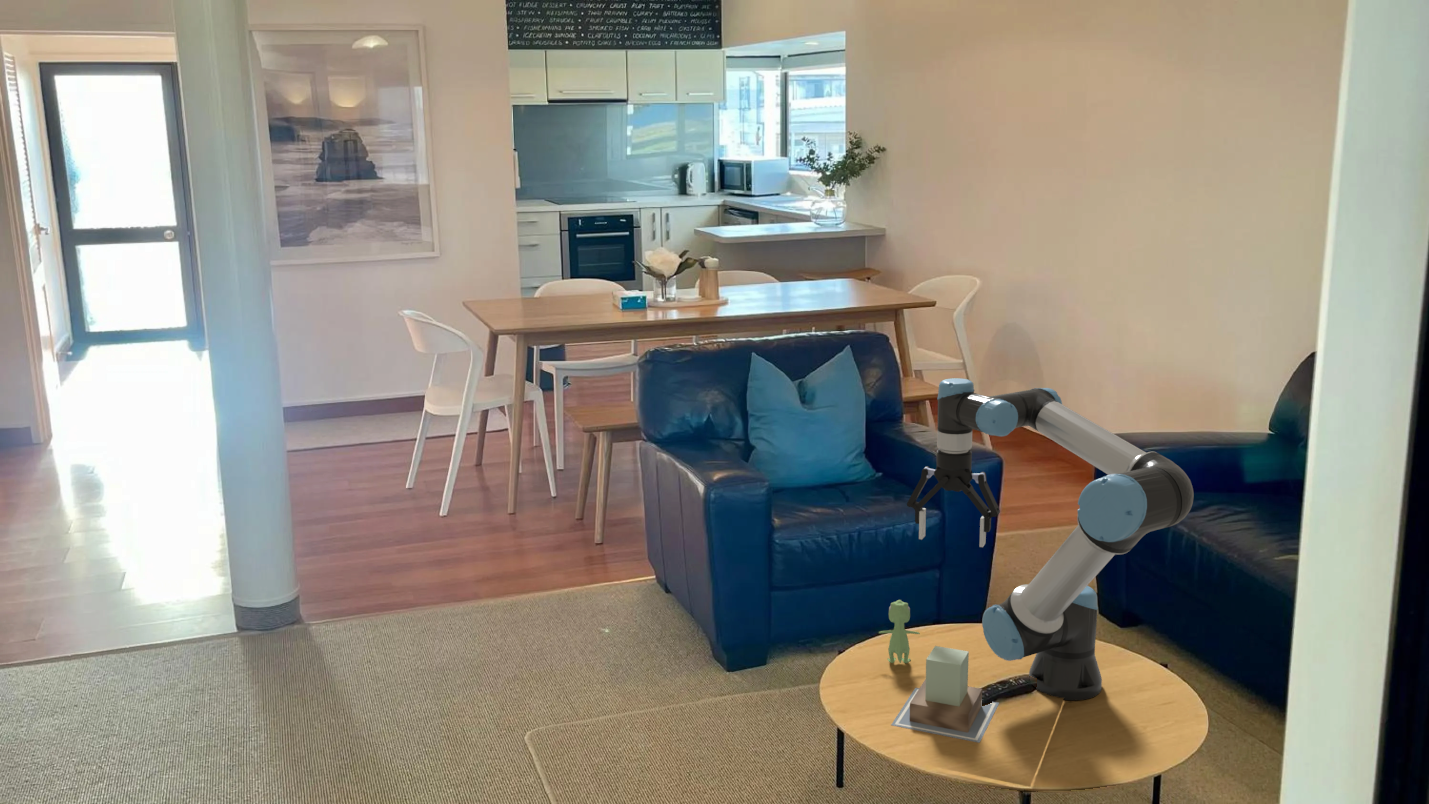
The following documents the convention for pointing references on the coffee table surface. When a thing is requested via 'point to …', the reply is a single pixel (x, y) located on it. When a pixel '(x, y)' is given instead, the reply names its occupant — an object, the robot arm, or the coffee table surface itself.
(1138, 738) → the coffee table surface
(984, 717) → the grey square plate
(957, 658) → the sage block
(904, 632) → the toy
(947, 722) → the foundation block
